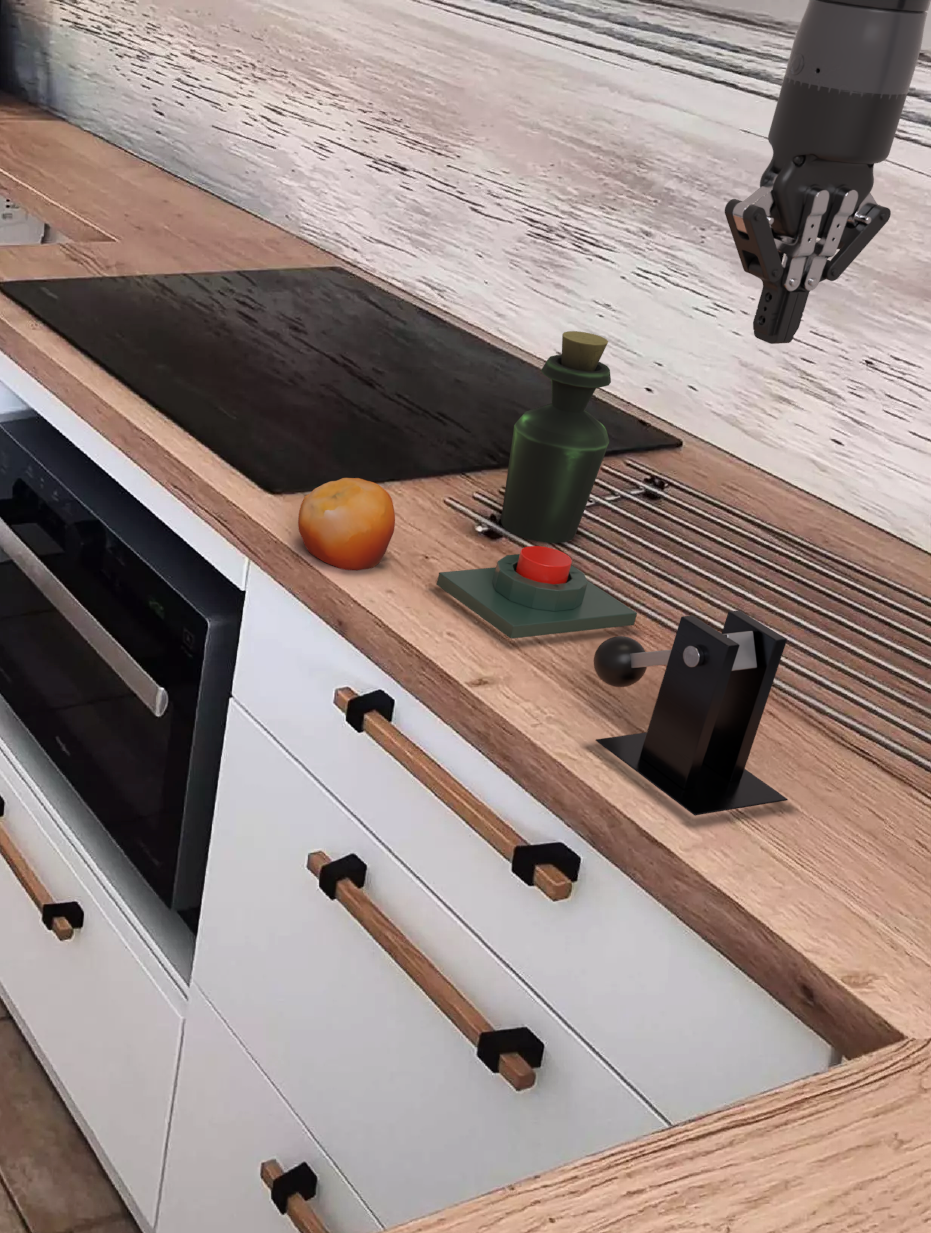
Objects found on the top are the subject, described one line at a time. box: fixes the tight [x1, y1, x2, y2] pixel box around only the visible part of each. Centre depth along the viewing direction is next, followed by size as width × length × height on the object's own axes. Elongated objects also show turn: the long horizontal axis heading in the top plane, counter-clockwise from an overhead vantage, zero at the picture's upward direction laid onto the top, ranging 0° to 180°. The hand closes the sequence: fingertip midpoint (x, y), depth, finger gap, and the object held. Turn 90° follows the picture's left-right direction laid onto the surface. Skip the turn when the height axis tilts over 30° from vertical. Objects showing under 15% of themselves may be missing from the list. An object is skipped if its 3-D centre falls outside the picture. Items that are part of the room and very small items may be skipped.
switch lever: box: [593, 631, 757, 688], centre depth 121 cm, size 13×4×4 cm, turn 22°
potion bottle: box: [500, 330, 612, 544], centre depth 155 cm, size 8×8×18 cm
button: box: [516, 545, 573, 584], centre depth 141 cm, size 4×4×2 cm
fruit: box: [297, 477, 396, 571], centre depth 148 cm, size 8×8×8 cm
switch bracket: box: [595, 609, 789, 816], centre depth 118 cm, size 10×8×12 cm
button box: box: [436, 553, 638, 640], centre depth 142 cm, size 12×10×4 cm
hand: (771, 340), depth 123 cm, fingers closed
